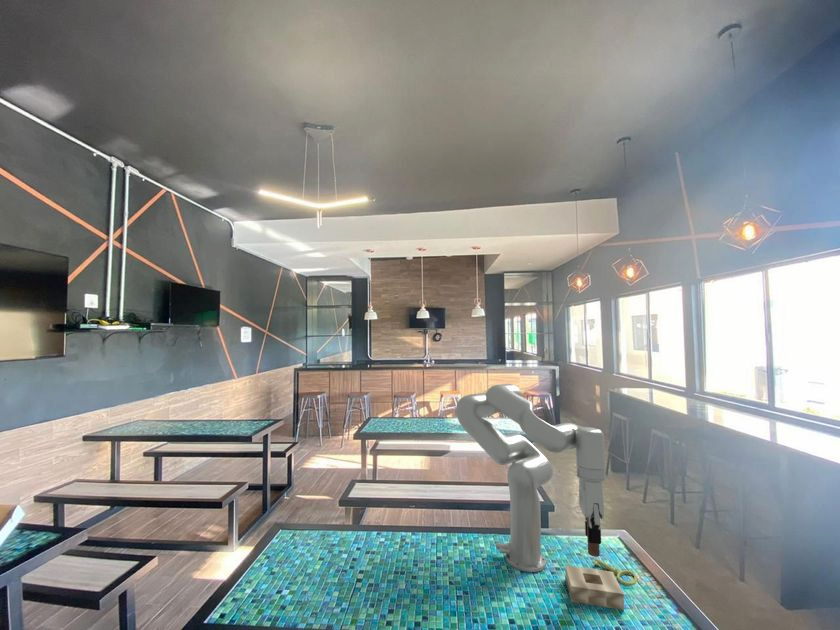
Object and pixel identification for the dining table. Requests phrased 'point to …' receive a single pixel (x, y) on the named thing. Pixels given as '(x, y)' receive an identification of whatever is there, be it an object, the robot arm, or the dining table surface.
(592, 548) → the walnut peg
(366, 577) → the dining table surface
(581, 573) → the maple hole block
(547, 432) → the robot arm
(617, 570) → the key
